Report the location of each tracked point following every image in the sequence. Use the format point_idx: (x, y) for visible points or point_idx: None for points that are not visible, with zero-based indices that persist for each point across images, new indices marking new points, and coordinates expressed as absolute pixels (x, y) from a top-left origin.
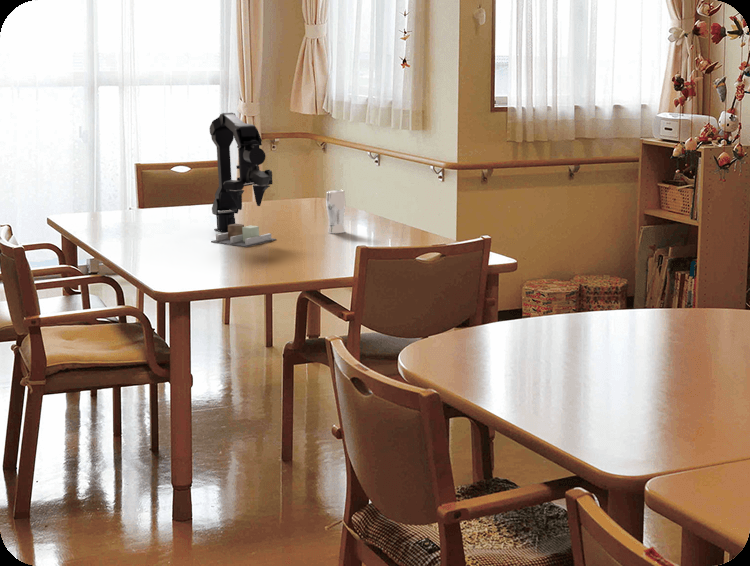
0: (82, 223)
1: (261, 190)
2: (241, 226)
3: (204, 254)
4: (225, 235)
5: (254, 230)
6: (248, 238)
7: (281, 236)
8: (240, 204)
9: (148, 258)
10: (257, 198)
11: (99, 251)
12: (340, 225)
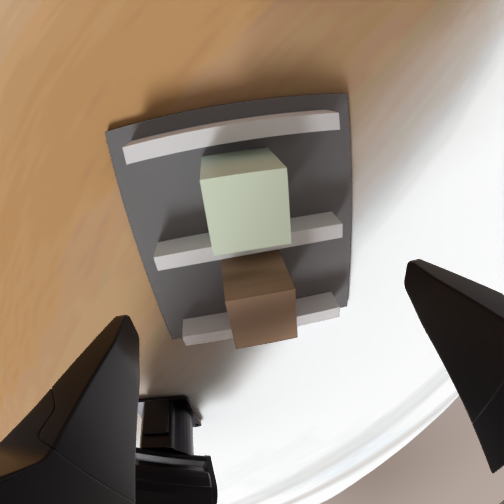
0: (314, 496)
1: (51, 470)
2: (247, 292)
3: (496, 144)
4: None
5: (243, 167)
6: (318, 124)
7: (43, 197)
8: (463, 278)
9: None
10: (122, 401)
11: None
12: None
